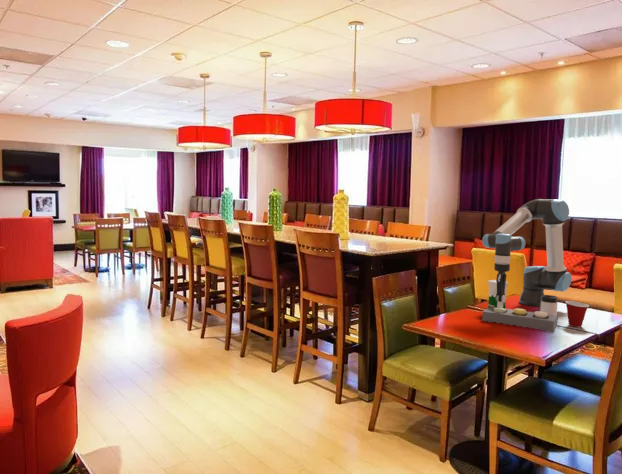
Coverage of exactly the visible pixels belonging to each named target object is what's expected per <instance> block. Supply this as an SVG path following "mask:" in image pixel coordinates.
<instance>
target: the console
mask: <svg viewBox="0 0 622 474" xmlns="http://www.w3.org/2000/svg"><path fill="white" fill-rule="evenodd" d="M494 308H497V307H488V306H487V308H485V309H484V310H482V318H481V319H482V322H487V321H488V323H493V322H496V323H495V324H500V323H503V324H502V325H507V324H509V326H513V325H516V326H515V327H520V326H522V327H521V328H526V327H529V328H528V329H533V328H535V329H534V330H539V329H542V330H541V331H546V330H548V332H552V331H555V329H556V328H557V327H558V317H559V316H558V315H557V316H555V315H548V314H547V318H538V317H535V316H534V313H535V312H533V311H526V315H517V314H514V309H510V308H506V313H501V312H494Z"/></svg>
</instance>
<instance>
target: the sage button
mask: <svg viewBox="0 0 622 474" xmlns="http://www.w3.org/2000/svg"><path fill="white" fill-rule="evenodd" d="M506 309H507V308H506ZM506 309H504V308H494V312H501V313H506Z"/></svg>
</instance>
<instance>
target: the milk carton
mask: <svg viewBox="0 0 622 474" xmlns="http://www.w3.org/2000/svg"><path fill="white" fill-rule="evenodd" d="M487 285H488V304H487V308H488V307H497V299H498V295H496V294H497V280H496V279H491V280H487ZM508 285H509V281H506V283H505V293H504V294H505V295H504V299H503V308H504V309H507V308H506V307H507V305H506V302H507V289H508ZM497 308H499V307H497Z"/></svg>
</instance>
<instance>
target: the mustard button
mask: <svg viewBox="0 0 622 474" xmlns="http://www.w3.org/2000/svg"><path fill="white" fill-rule="evenodd" d="M513 310H514V314H517V315H526V312H527V309H524V308H519V307H518V308H514V309H513Z"/></svg>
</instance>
